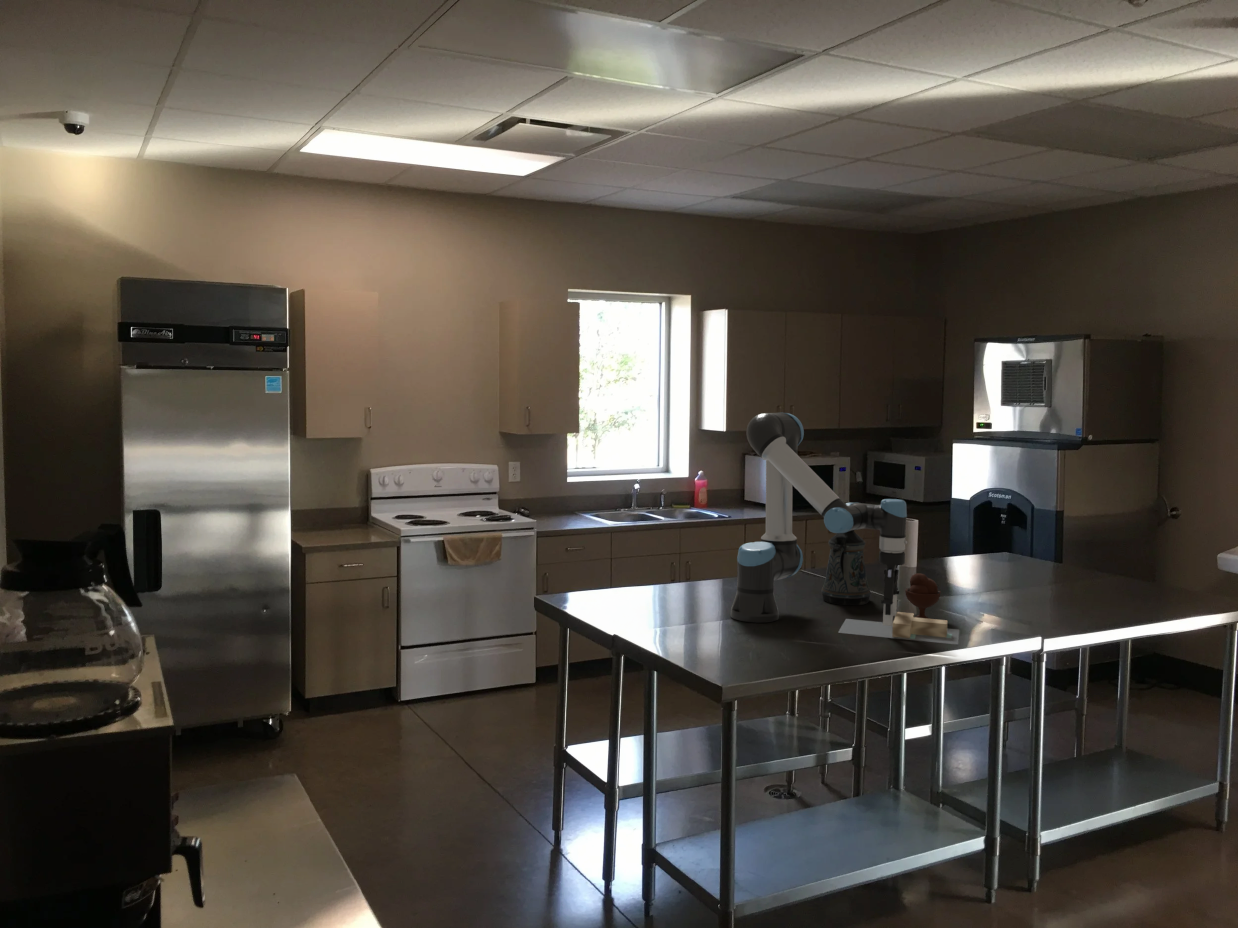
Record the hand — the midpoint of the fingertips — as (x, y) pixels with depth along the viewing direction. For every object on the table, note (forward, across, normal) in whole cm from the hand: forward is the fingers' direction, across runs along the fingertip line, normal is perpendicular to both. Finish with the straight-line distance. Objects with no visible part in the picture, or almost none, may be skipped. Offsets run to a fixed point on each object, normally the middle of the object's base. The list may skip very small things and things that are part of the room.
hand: (889, 620), depth 302 cm
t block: (+3, 0, -9) cm, 9 cm away
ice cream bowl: (+4, +19, -8) cm, 21 cm away
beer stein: (+4, +38, +18) cm, 42 cm away
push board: (+3, 0, -3) cm, 4 cm away
